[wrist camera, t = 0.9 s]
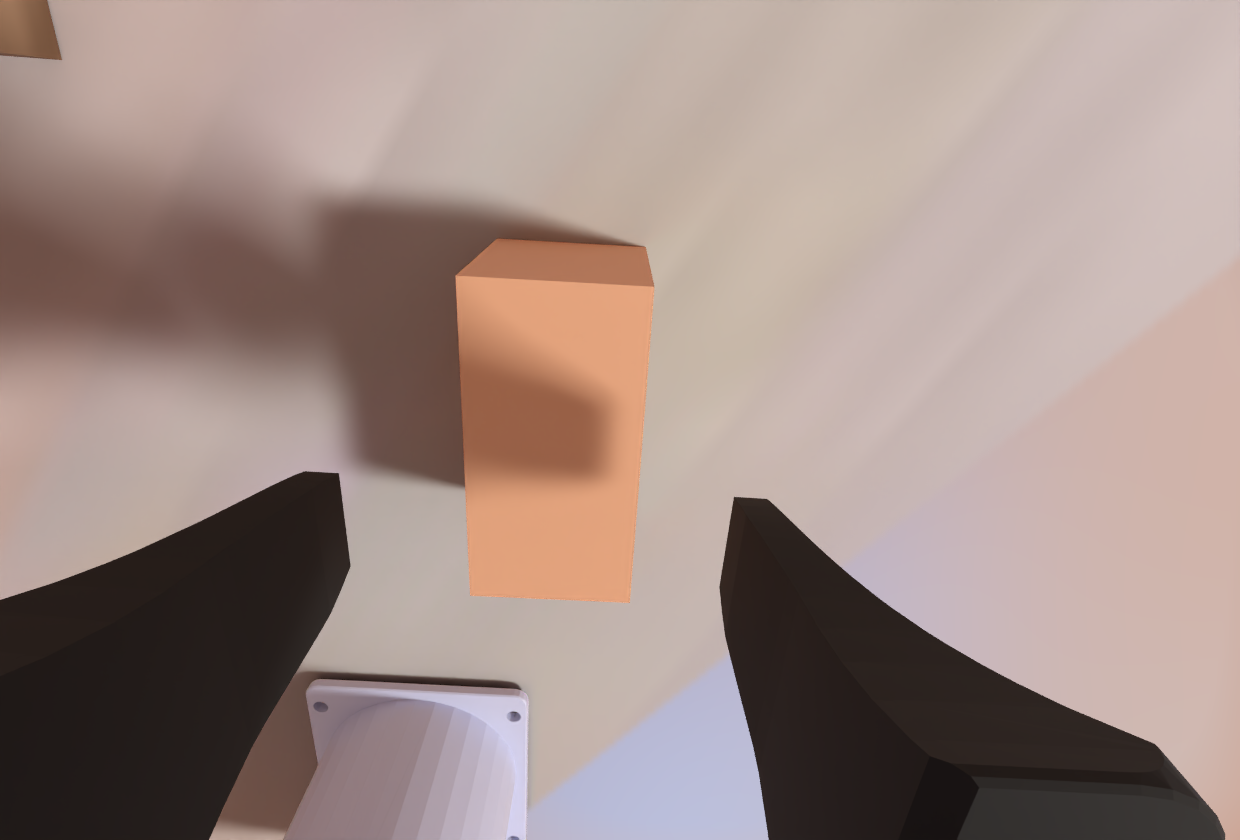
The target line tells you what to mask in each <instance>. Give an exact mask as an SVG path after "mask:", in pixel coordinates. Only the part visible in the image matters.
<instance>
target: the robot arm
mask: <svg viewBox="0 0 1240 840" xmlns="http://www.w3.org/2000/svg"><path fill="white" fill-rule="evenodd" d="M349 569H350V559H349V551H348V543H347V535H346V527H345V519H344V511H343V503H342V495H341V488H340V480H339V473H323V472H307V471H305V472H302V473H299V474H297V475H294V476H292V477H290V478H287V479H285V480H283V481H281V482H279V483H277V484H275V485H272V486H270V487H268V488H266V489H264V490H262V491H260V492H258V493H256V494H254V495H252V496H250V497H248V498H246V499H244V500H242V501H240V502H238V503H236V504H234V505H232V506H230V507H228V508H226V509H224V510H222V511H220V512H218V513H216V514H214V515H212V516H210V517H208V518H206V519H204V520H202V521H200V522H198V523H196V524H194V525H192V526H190V527H187V528H185V529H183V530H181V531H179V532H177V533H174V534H172V535H170V536H168V537H166V538H164V539H161V540H159V541H157V542H155V543H153V544H151V545H148V546H146V547H144V548H142V549H140V550H137V551H135V552H133V553H130V554H128V555H125V556H123V557H121V558H118V559H116V560H113V561H111V562H108V563H106V564H103V565H101V566H98V567H95V568H93V569H90V570H87V571H85V572H82V573H79V574H77V575H74V576H71V577H69V578H66V579H63V580H60V581H58V582H55V583H52V584H49V585H46V586H43V587H40V588H36V589H33V590H30V591H27V592H24V593H21V594H18V595H14V596H11V597H8V598H5V599H2V600H0V840H209V838H210V836H211V834H212V831H213V829H214V827H215V825H216V822H217V820H218V818H219V816H220V813H221V811H222V809H223V807H224V805H225V802H226V800H227V798H228V796H229V794H230V792H231V790H232V788H233V786H234V783H235V781H236V779H237V777H238V775H239V773H240V771H241V769H242V767H243V764H244V762H245V760H246V758H247V756H248V754H249V752H250V750H251V748H252V746H253V744H254V742H255V740H256V739H257V737H258V735H259V733H260V731H261V730H262V728H263V726H264V724H265V722H266V721H267V719H268V717H269V716H270V714H271V712H272V711H273V709H274V707H275V706H276V704H277V702H278V701H279V699H280V697H281V696H282V694H283V693H284V691H285V689H286V688H287V686H288V684H289V683H290V681H291V679H292V678H293V676H294V674H295V673H296V671H297V669H298V668H299V666H300V665H301V663H302V661H303V660H304V658H305V656H306V655H307V653H308V651H309V650H310V648H311V646H312V645H313V643H314V641H315V640H316V638H317V636H318V634H319V633H320V631H321V629H322V628H323V626H324V624H325V623H326V621H327V619H328V617H329V616H330V614H331V612H332V609H333V607H334V605H335V603H336V600H337V598H338V596H339V593H340V591H341V589H342V586H343V584H344V581H345V579H346V576H347V574H348V571H349ZM720 596H721V606H722V615H723V622H724V630H725V637H726V641H727V645H728V649H729V653H730V657H731V661H732V665H733V669H734V673H735V677H736V681H737V685H738V689H739V693H740V696H741V701H742V704H743V708H744V712H745V716H746V720H747V724H748V728H749V732H750V736H751V739H752V744H753V747H754V752H755V757H756V762H757V766H758V771H759V777H760V784H761V790H762V797H763V804H764V810H765V817H766V823H767V830H768V837H769V840H1225V833H1224V831H1223V828H1222V826H1221V824H1220V821H1219V819H1218V817H1217V815H1216V814H1215V813H1214V812H1213V810H1212V809H1211V808H1210V807H1209V806H1208V805H1207V804H1206V802H1205V801H1204V800H1203V799H1202V798H1201V797H1200V795H1199V794H1198V793H1197V792H1196V791H1195V790H1194V788H1193V787H1192V786H1191V785H1190V784H1189V783H1188V781H1187V780H1186V779H1185V778H1184V777H1183V776H1182V774H1181V773H1180V772H1179V771H1178V770H1177V769H1176V767H1175V766H1174V765H1173V764H1172V763H1171V762H1170V761H1169V759H1168V758H1167V757H1166V756H1165V755H1164V753H1163V752H1162V751H1161V750H1160V749H1159V748H1158V747H1157V746H1156V745H1155V744H1153V743H1151V742H1149V741H1146V740H1144V739H1141V738H1139V737H1136V736H1134V735H1132V734H1129V733H1127V732H1125V731H1122V730H1120V729H1117V728H1115V727H1113V726H1110V725H1108V724H1105V723H1103V722H1101V721H1098V720H1096V719H1093V718H1091V717H1089V716H1086V715H1084V714H1081V713H1079V712H1076V711H1074V710H1072V709H1070V708H1067V707H1065V706H1063V705H1060V704H1059V703H1057V702H1054V701H1052V700H1050V699H1048V698H1046V697H1044V696H1041V695H1040V694H1038V693H1036V692H1034V691H1032V690H1030V689H1028V688H1026V687H1024V686H1021V685H1019V684H1017V683H1015V682H1013V681H1012V680H1010V679H1008V678H1006V677H1004V676H1002V675H1000V674H998V673H996V672H994V671H993V670H991V669H989V668H987V667H985V666H983V665H981V664H980V663H978V662H976V661H974V660H973V659H971V658H969V657H968V656H966V655H964V654H963V653H961V652H959V651H957V650H956V649H954V648H952V647H950V646H949V645H947V644H945V643H944V642H942V641H940V640H939V639H937V638H936V637H934V636H933V635H931V634H929V633H928V632H926V631H925V630H923V629H922V628H920V627H919V626H917V625H916V624H914V623H913V622H911V621H910V620H909V619H907V618H906V617H904V616H903V615H901V614H900V613H898V612H897V611H895V610H894V609H892V608H891V607H890V606H888V605H887V604H886V603H884V602H883V601H882V600H880V599H879V598H878V597H876V596H875V595H874V594H872V593H871V592H870V591H869V590H868V589H866V588H865V587H864V586H863V585H861V584H860V583H859V582H858V581H856V580H855V579H854V578H853V577H851V576H850V575H849V574H848V573H847V572H846V571H844V570H843V569H842V568H841V567H840V566H839V565H837V564H836V563H835V562H834V561H833V560H832V559H831V558H830V557H828V556H827V555H826V554H825V553H824V552H823V551H822V550H821V549H820V548H819V547H817V546H816V545H815V544H814V543H813V542H812V541H811V540H810V539H809V538H808V537H807V536H806V535H805V534H804V533H803V532H802V531H801V530H800V529H798V528H797V527H796V526H795V525H794V524H793V523H792V522H791V521H790V520H789V519H788V518H787V517H786V516H785V515H784V514H783V513H782V512H781V511H780V510H779V509H778V508H777V507H776V506H775V505H773V504H772V503H771V502H770V501H769V500H768V499H758V498H741V497H734V501H733V507H732V513H731V519H730V525H729V532H728V538H727V544H726V550H725V556H724V562H723V569H722V575H721V581H720ZM306 700H307V705H308V711H309V717H310V722H311V728H312V734H313V739H314V745H315V751H316V756H317V762H318V767H317V769H316V771H315V773H314V775H313V777H312V779H311V781H310V784H309V786H308V788H307V790H306V792H305V794H304V796H303V798H302V800H301V802H300V805H299V807H298V809H297V811H296V813H295V815H294V817H293V819H292V821H291V824H290V826H289V828H288V830H287V832H286V834H285V836H284V838H283V840H527V783H528V708H529V699H528V696H527V695H526V693H525V692H523V691H521V690H518V689H508V688H488V687H468V686H449V685H429V684H410V683H390V682H371V681H351V680H331V679H317V680H314V681H312V682H311V684H310V685H309V687H308V689H307V690H306ZM322 702H324V703H322ZM512 711H514V712H518V713H513V712H512Z"/></svg>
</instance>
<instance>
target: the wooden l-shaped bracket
mask: <svg viewBox="0 0 1240 840" xmlns="http://www.w3.org/2000/svg"><path fill="white" fill-rule="evenodd" d="M0 55H3V56H17V57H30V58H43V59H57V60H62V59H61V55H60V51H59V47H58V43H57V39H56V35H55V31H54V27H53V23H52V19H51V15H50V11H49V6H48V2H47V0H0Z"/></svg>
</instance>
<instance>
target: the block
mask: <svg viewBox="0 0 1240 840" xmlns="http://www.w3.org/2000/svg"><path fill="white" fill-rule="evenodd" d="M456 298H457V319H458V341H459V363H460V384H461V406H462V427H463V449H464V471H465V492H466V514H467V535H468V557H469V579H470V596H492V597H514V598H536V599H559V600H581V601H603V602H626V603H630V591H631V579H632V566H633V553H634V540H635V528H636V515H637V502H638V489H639V476H640V464H641V451H642V438H643V425H644V413H645V400H646V387H647V374H648V362H649V349H650V336H651V323H652V310H653V298H654V283H653V278H652V274H651V269H650V265H649V260H648V256H647V251H646V247H636V246H619V245H601V244H584V243H567V242H550V241H532V240H515V239H498V238H497V239H496V240H495V241H494V242H493V243H492V244H490V245H489V246H488V247H487V248H486V249H485V250H484V251H483V252H481V253H480V254H479V255H478V256H477V257H476V258H475V259H474V260H472V261H471V262H470V263H469V264H468V265H467V266H466V267H465V268H463V269H462V270H461V271H460V272H459V273H458V274H457V275H456Z"/></svg>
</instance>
